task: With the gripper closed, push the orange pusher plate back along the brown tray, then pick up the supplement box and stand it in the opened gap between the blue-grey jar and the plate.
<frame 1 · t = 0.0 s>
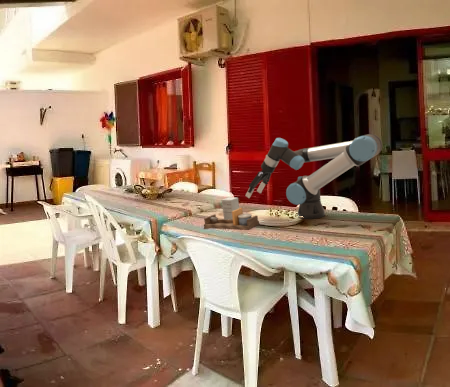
hand: (253, 194, 254), 15 cm above the table, tool tilted 35°, fingers open, 13 cm apart
supplement box: (232, 219, 267), on the table
brown tray: (231, 226, 247), on the table
jar: (245, 226, 242), point 1 cm above the table, touching brown tray
pusher: (237, 217, 244), point 5 cm above the table, slide at 0.0 cm
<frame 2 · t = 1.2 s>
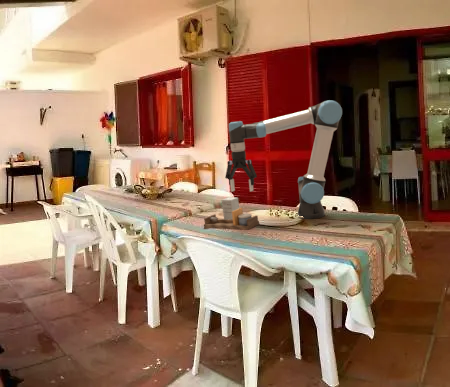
hand: (242, 191, 239), 20 cm above the table, tool pointing down, fingers open, 11 cm apart
nothing on the table moved.
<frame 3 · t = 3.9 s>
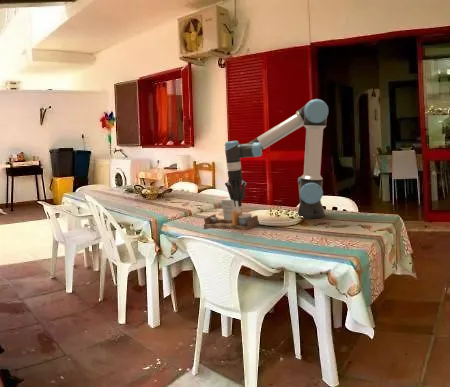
hand: (238, 212, 242), 9 cm above the table, tool pointing down, fingers closed
pusher: (237, 217, 244), point 5 cm above the table, slide at 0.3 cm, touching gripper
everything else where it was.
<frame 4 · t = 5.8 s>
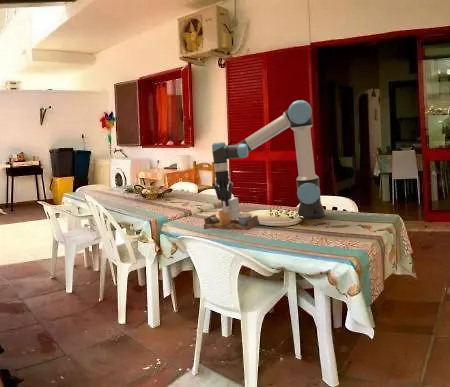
hand: (226, 212, 247), 8 cm above the table, tool pointing down, fingers closed
pusher: (224, 217, 248), point 5 cm above the table, slide at 8.6 cm, touching gripper
everything else where it was.
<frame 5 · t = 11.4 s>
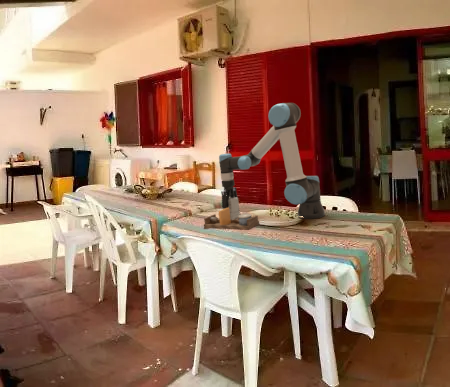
hand: (231, 216, 266), 1 cm above the table, tool pointing down, fingers closed on supplement box, 8 cm apart
supplement box: (232, 219, 267), on the table, touching gripper
pusher: (224, 217, 248), point 5 cm above the table, slide at 8.7 cm
everything else where it was.
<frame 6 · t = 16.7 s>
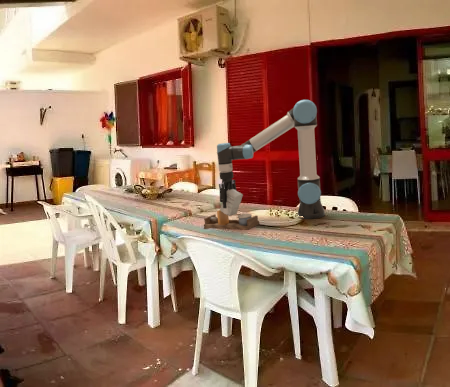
hand: (230, 211, 246), 9 cm above the table, tool pointing down, fingers closed on supplement box, 7 cm apart
supplement box: (227, 212, 247), point 8 cm above the table, touching gripper, pusher
pusher: (223, 217, 249), point 5 cm above the table, slide at 9.8 cm, touching supplement box
everything else where it was.
when the fingers open (4 cm above the table, at t = 18.1 s): supplement box drops 3 cm, resting on brown tray.
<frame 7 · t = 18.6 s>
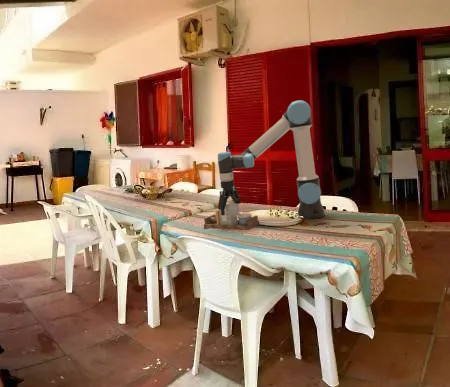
hand: (231, 217, 246), 5 cm above the table, tool pointing down, fingers open, 13 cm apart
supplement box: (229, 226, 248), resting on brown tray
pusher: (221, 217, 249), point 5 cm above the table, slide at 10.7 cm
everything else where it was.
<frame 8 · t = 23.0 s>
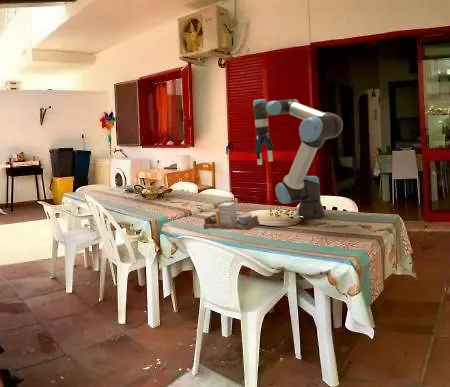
hand: (265, 163, 258), 32 cm above the table, tool pointing down, fingers open, 13 cm apart
nothing on the table moved.
at the end: supplement box inside the target area on the brown tray (1.4 cm from its centre), point 0.4 cm above the brown tray's base; supplement box tilted 0°; pusher slide at 10.7 cm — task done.
